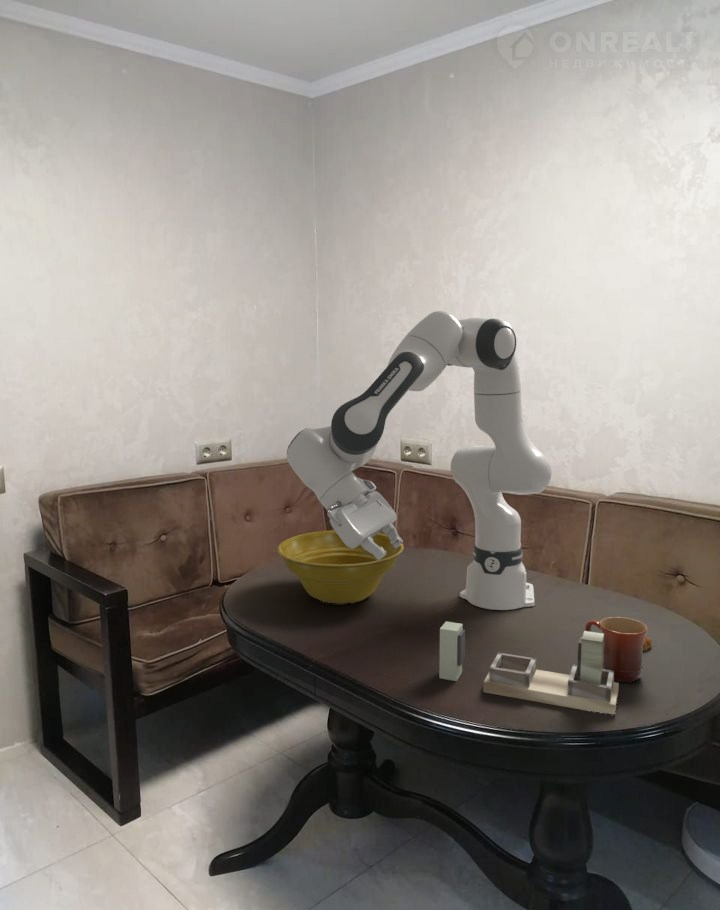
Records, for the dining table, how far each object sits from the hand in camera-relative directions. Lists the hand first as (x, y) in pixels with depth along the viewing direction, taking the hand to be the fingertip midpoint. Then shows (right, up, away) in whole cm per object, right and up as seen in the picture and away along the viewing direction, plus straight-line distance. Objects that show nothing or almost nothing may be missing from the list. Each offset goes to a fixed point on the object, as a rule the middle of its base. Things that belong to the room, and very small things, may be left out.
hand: (391, 551), depth 142 cm
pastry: (+50, -22, +12) cm, 56 cm away
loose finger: (+11, -24, -1) cm, 27 cm away
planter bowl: (-11, -18, +45) cm, 49 cm away
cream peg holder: (+29, -25, -9) cm, 39 cm away
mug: (+43, -24, -1) cm, 49 cm away
